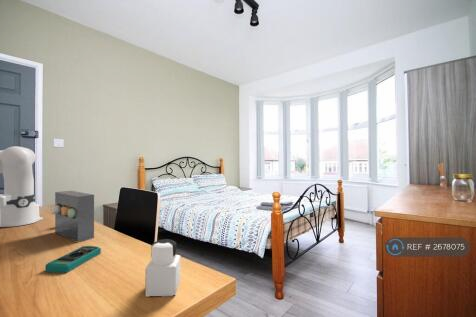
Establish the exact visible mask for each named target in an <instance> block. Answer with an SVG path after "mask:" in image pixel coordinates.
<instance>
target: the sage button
mask: <svg viewBox="0 0 476 317" xmlns="http://www.w3.org/2000/svg"><path fill="white" fill-rule="evenodd" d="M67 215H68V217H69V218H73V217H75V208H72V209H68V211H67Z"/></svg>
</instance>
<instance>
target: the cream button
mask: <svg viewBox="0 0 476 317" xmlns="http://www.w3.org/2000/svg"><path fill="white" fill-rule="evenodd" d="M50 211H51V214H52V215H55V214H58V213H61V206H60V205H55V204H54V205H52V206H51V207H50Z"/></svg>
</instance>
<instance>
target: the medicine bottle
mask: <svg viewBox="0 0 476 317" xmlns="http://www.w3.org/2000/svg"><path fill="white" fill-rule="evenodd" d="M150 247H151V248H150V249H151V250H150V252H151V253H150V254H151V255H150V257H151V258H150V261H149V263H148V264H147V266H146V267H145V285H144V286H145V288H144V289H145V293H144V294H145V297H146V296H162V297H174V296H173V295H175V296H176V294H177V292H178V289H179V285H180V282H181V255H180V254H177V242H176V241H175V240H172V239H171V238H170V239H168V238H164V239H159V240H156V241H155V242H153V243H152V244H151V246H150Z"/></svg>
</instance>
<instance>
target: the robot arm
mask: <svg viewBox="0 0 476 317" xmlns="http://www.w3.org/2000/svg"><path fill="white" fill-rule="evenodd" d="M36 158H37V157H36V154H35V152H34V151H33V150H32V149H31V148H27V147H23V146H18V145H17V146H16V145H15V146H14V145H13V146H9V147H7V148H5V149H2V150H1V149H0V174H2V176H3V185H4V186H3V189H4V190H3V194H2V193H1V194H0V228H6V227H7V228H9V227H19V226H25V225H29V224H33V223H37V222H39V221H41V220H43V219H44V217H43V216H40V208H39V207H40V206H39V204H38V203H36V202H35V201H36V194H35V180H34V178H35V177H34V170H33V164H34V163H35V162H36Z"/></svg>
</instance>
